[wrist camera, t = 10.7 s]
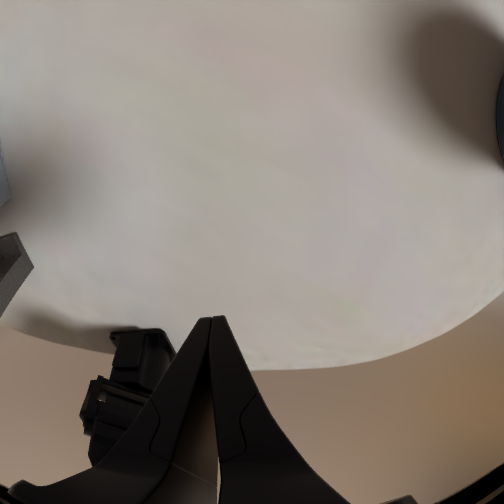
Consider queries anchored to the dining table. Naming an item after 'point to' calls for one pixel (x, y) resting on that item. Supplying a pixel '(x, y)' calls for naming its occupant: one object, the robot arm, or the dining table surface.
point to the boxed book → (3, 182)
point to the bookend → (12, 268)
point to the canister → (501, 117)
